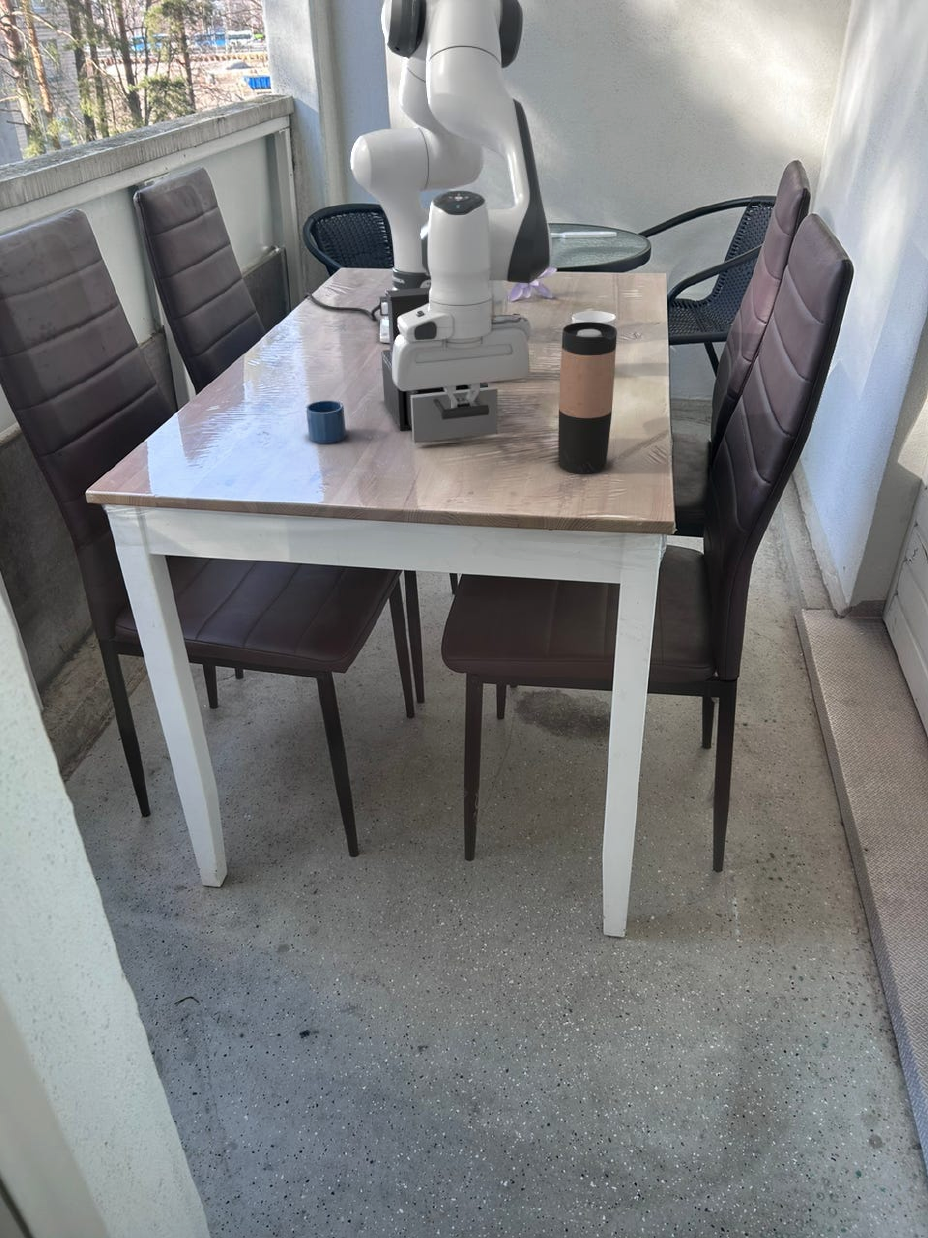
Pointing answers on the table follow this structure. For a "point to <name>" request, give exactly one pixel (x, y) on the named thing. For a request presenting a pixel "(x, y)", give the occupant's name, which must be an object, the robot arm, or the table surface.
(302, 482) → the table surface
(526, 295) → the water lily
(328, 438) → the blue cup
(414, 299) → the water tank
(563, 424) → the travel mug
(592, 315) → the white cup
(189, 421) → the table surface
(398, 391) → the dark grey box
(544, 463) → the table surface
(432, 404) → the grey drawer
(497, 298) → the silver water bottle
